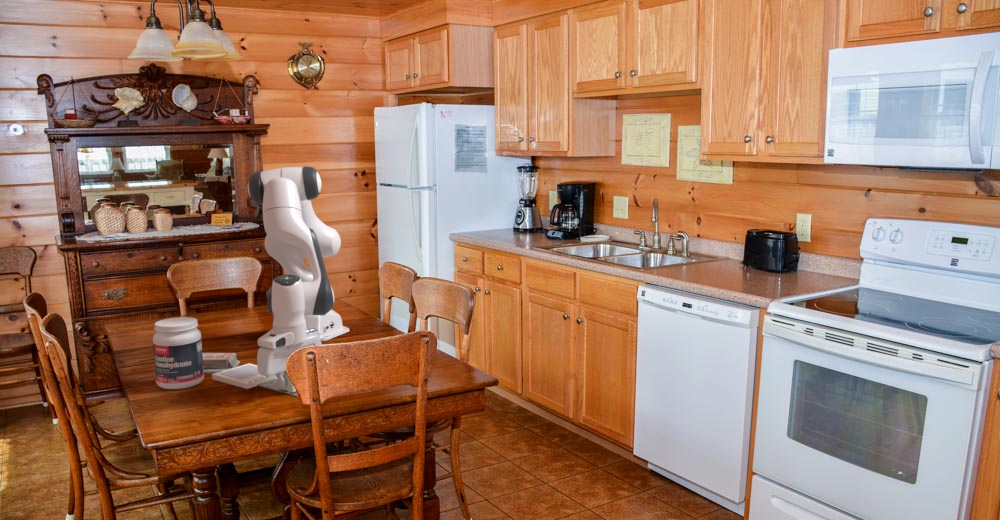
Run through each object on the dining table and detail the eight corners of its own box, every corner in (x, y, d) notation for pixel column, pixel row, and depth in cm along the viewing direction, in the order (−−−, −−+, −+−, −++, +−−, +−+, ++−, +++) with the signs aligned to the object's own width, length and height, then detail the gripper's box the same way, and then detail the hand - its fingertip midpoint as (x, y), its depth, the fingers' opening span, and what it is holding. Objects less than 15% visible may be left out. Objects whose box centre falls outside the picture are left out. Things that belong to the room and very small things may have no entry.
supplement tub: (153, 393, 211) (147, 328, 208) (159, 379, 223) (154, 318, 220) (202, 388, 214) (197, 324, 211) (206, 375, 227) (202, 314, 224)
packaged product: (239, 349, 238) (228, 358, 228) (240, 364, 238) (229, 374, 229) (182, 349, 238) (168, 359, 228) (183, 364, 239) (169, 374, 229)
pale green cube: (293, 383, 216) (292, 366, 215) (307, 387, 212) (306, 369, 212) (278, 388, 212) (277, 370, 211) (293, 392, 208) (292, 374, 207)
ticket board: (249, 367, 233) (249, 362, 233) (323, 387, 214) (323, 381, 214) (212, 379, 223) (211, 373, 222) (287, 400, 204) (286, 394, 204)
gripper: (311, 325, 220) (313, 371, 222) (252, 341, 203) (255, 390, 205) (326, 328, 216) (328, 375, 218) (267, 344, 200) (270, 395, 202)
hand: (292, 382), depth 212 cm, fingers closed on pale green cube, 5 cm apart
